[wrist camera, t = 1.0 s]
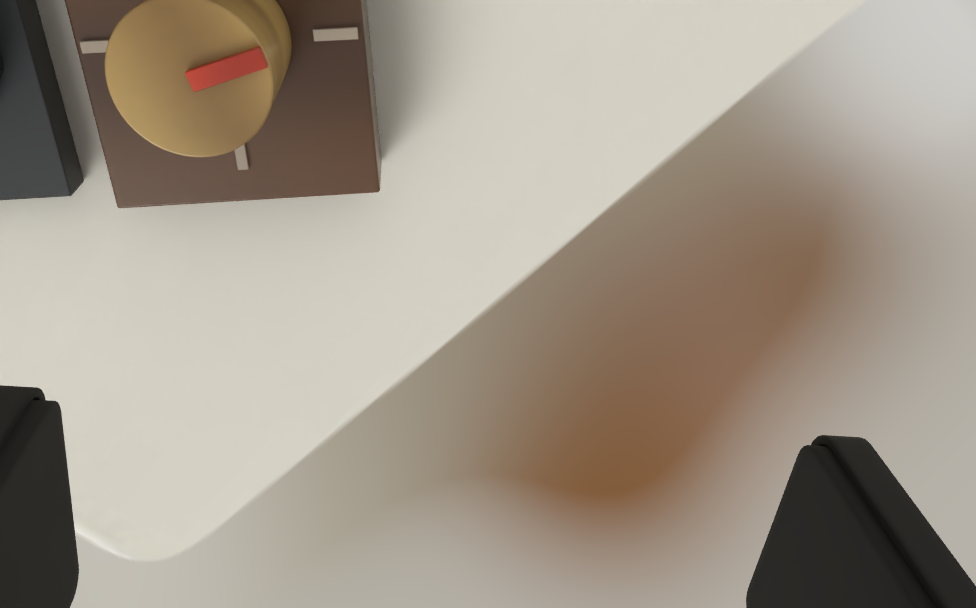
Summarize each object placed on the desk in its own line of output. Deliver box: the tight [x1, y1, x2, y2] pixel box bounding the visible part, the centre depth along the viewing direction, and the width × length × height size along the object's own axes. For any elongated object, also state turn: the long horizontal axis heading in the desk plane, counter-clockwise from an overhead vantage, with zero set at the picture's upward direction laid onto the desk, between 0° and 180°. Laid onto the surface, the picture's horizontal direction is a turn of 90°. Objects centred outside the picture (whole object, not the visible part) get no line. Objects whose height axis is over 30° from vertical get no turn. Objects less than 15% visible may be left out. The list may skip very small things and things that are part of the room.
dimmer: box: [65, 0, 381, 208], centre depth 29 cm, size 11×9×3 cm
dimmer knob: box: [105, 0, 292, 157], centre depth 26 cm, size 4×4×5 cm
